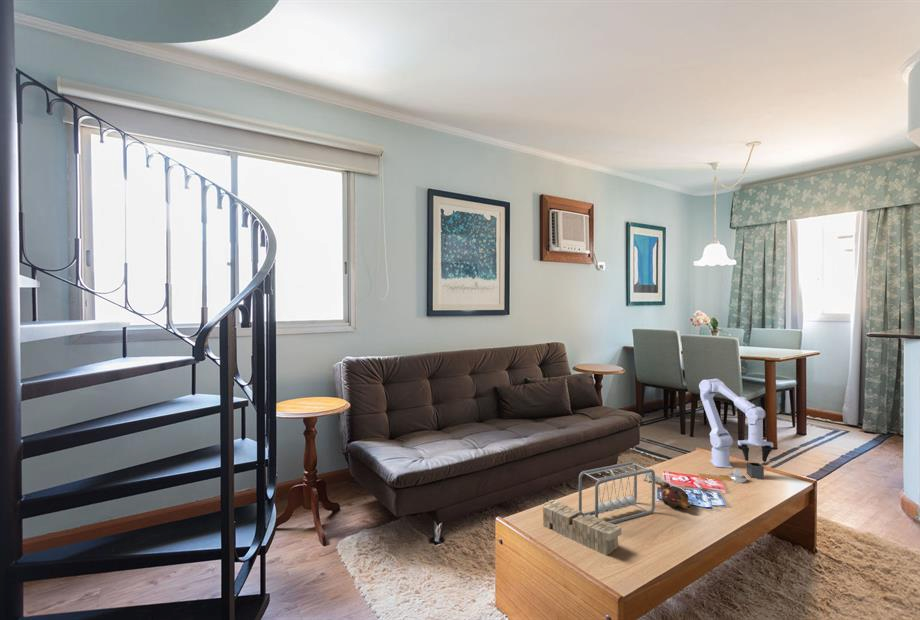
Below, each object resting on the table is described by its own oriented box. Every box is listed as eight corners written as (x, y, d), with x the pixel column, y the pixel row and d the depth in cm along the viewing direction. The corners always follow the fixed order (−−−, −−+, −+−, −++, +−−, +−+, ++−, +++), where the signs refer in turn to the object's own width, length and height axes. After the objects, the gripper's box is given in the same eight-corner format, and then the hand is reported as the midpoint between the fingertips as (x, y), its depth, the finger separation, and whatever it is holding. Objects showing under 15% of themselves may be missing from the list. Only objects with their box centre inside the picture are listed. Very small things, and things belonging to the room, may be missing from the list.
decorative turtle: (667, 496, 192) (669, 478, 192) (698, 513, 178) (700, 494, 178) (650, 499, 188) (652, 480, 188) (680, 517, 175) (682, 497, 174)
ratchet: (701, 480, 209) (701, 469, 209) (697, 475, 216) (697, 464, 216) (748, 483, 205) (748, 472, 205) (742, 478, 212) (742, 467, 212)
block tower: (540, 527, 168) (609, 558, 146) (539, 505, 168) (609, 532, 146) (553, 520, 173) (622, 549, 151) (552, 499, 173) (621, 524, 151)
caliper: (643, 481, 209) (643, 468, 209) (644, 480, 210) (644, 467, 210) (688, 495, 193) (688, 481, 193) (689, 494, 194) (689, 480, 194)
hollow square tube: (746, 474, 216) (746, 462, 216) (758, 475, 215) (758, 462, 215) (751, 478, 211) (751, 466, 211) (763, 479, 210) (763, 466, 210)
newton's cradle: (596, 528, 165) (596, 481, 165) (578, 516, 175) (578, 471, 174) (655, 512, 177) (655, 468, 177) (635, 502, 187) (635, 460, 187)
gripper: (742, 434, 210) (742, 462, 210) (776, 435, 207) (776, 464, 207) (736, 430, 217) (736, 457, 217) (769, 431, 214) (769, 459, 214)
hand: (755, 460), depth 213 cm, fingers open, 7 cm apart
